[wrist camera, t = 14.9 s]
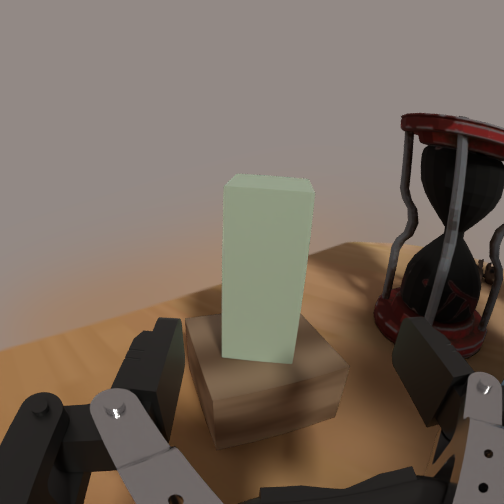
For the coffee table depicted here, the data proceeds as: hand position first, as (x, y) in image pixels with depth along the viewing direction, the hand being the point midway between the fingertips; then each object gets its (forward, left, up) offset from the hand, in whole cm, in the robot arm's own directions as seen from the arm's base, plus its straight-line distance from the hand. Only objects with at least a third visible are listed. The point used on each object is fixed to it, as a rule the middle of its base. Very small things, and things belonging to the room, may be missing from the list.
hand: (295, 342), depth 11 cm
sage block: (-10, -6, -8) cm, 14 cm away
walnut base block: (-9, -6, -14) cm, 18 cm away
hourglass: (-29, +9, -14) cm, 34 cm away
